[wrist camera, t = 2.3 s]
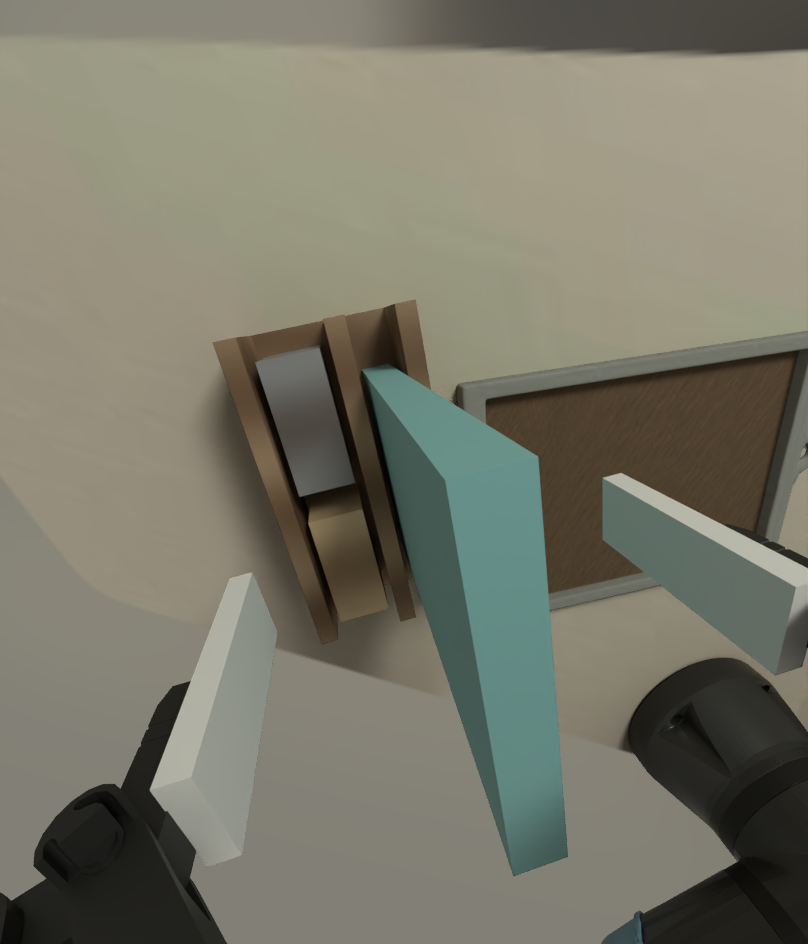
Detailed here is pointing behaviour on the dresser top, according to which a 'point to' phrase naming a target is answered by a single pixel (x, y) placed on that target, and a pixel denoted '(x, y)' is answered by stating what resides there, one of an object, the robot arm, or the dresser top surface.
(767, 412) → the framed cork board
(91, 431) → the dresser top surface
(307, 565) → the rack
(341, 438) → the offcut charcoal
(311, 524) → the offcut oak
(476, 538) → the teal rectangular slab
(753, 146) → the dresser top surface
